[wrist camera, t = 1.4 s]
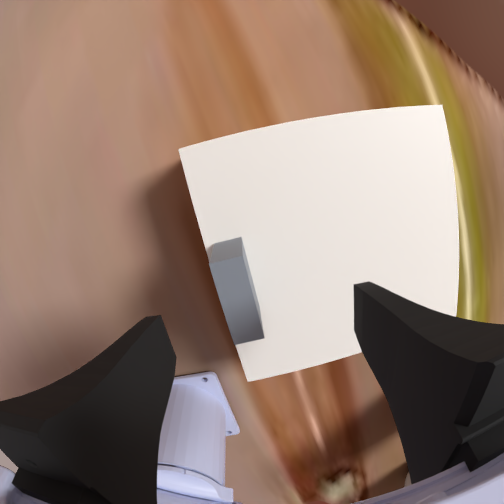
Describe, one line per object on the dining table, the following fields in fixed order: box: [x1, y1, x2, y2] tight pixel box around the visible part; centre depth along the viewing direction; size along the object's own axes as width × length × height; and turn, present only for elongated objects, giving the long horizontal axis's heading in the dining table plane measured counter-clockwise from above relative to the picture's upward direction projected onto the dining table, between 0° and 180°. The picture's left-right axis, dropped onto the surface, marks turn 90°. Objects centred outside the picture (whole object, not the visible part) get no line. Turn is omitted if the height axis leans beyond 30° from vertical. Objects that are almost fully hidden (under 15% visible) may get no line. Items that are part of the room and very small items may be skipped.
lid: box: [178, 105, 459, 382], centre depth 15 cm, size 15×14×4 cm
